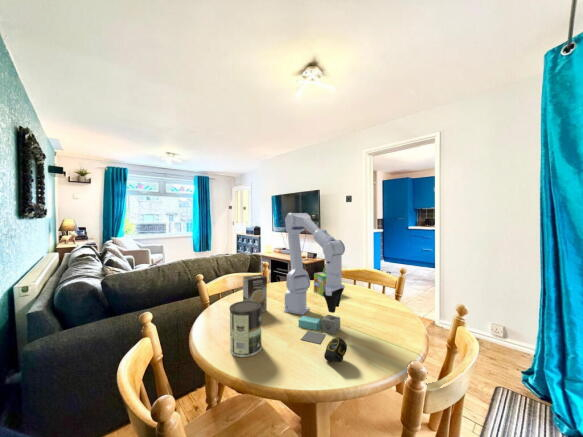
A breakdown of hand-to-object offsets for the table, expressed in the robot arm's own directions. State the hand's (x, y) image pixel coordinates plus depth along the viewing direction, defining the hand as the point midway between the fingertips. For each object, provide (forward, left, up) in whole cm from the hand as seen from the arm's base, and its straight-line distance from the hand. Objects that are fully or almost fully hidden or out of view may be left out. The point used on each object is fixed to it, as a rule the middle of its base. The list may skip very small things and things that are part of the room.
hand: (333, 309), depth 91 cm
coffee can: (-24, -23, -9) cm, 34 cm away
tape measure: (+5, -19, -9) cm, 22 cm away
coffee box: (-38, +4, -9) cm, 39 cm away
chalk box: (-15, +40, -9) cm, 44 cm away
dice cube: (-1, 0, -9) cm, 9 cm away
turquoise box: (-10, 0, -8) cm, 13 cm away
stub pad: (-6, -7, -8) cm, 13 cm away
